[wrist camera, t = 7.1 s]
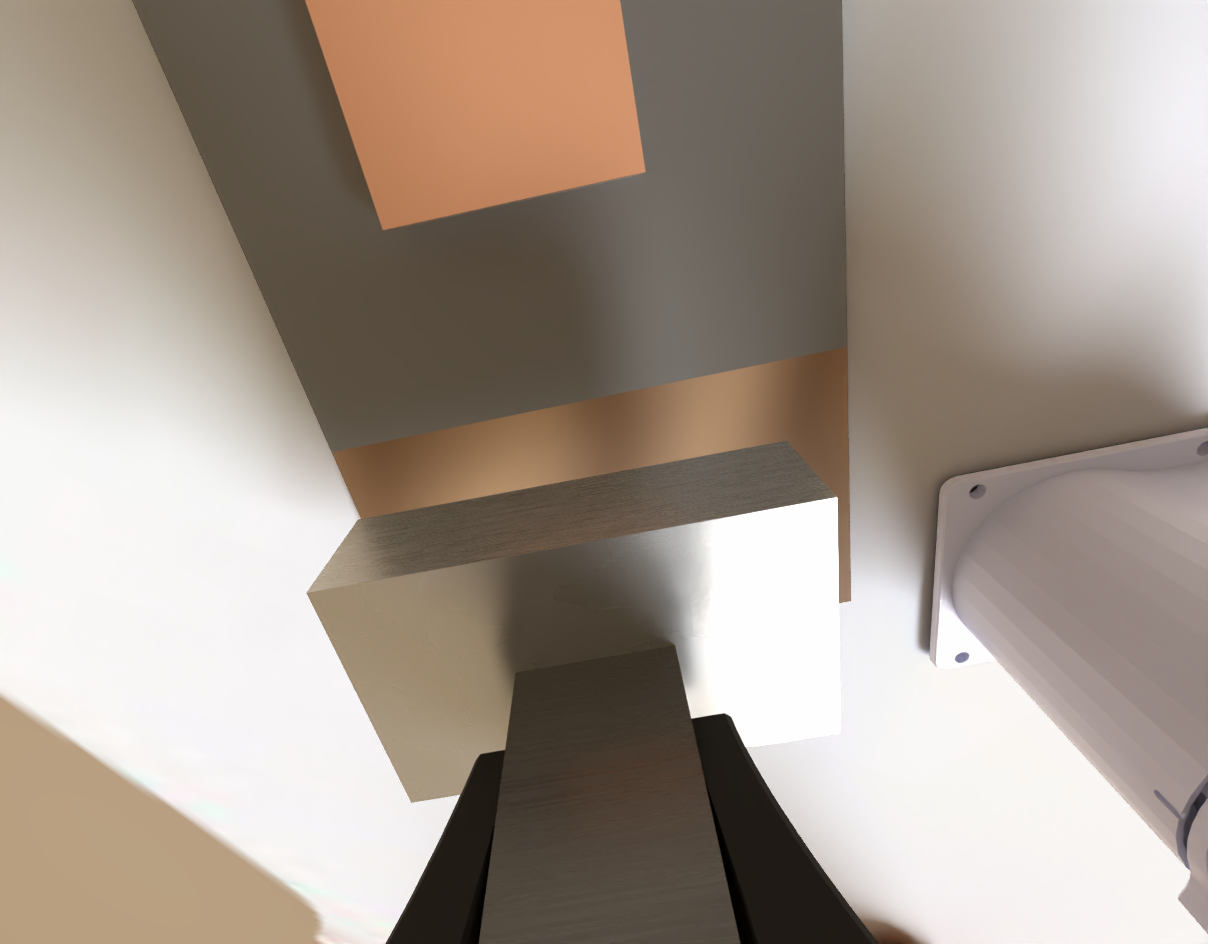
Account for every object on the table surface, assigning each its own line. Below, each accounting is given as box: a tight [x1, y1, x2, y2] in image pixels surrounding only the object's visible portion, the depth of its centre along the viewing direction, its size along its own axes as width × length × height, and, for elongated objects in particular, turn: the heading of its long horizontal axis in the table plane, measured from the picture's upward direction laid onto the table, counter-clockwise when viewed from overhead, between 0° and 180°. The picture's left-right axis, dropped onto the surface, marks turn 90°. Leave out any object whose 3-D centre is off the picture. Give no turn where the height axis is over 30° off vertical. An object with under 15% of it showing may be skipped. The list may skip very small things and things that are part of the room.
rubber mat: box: [132, 0, 847, 452], centre depth 14 cm, size 15×13×1 cm
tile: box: [305, 0, 645, 230], centre depth 12 cm, size 6×2×6 cm
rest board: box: [332, 347, 851, 603], centre depth 18 cm, size 15×9×1 cm, turn 101°
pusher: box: [307, 441, 840, 944], centre depth 9 cm, size 9×6×8 cm, turn 100°
